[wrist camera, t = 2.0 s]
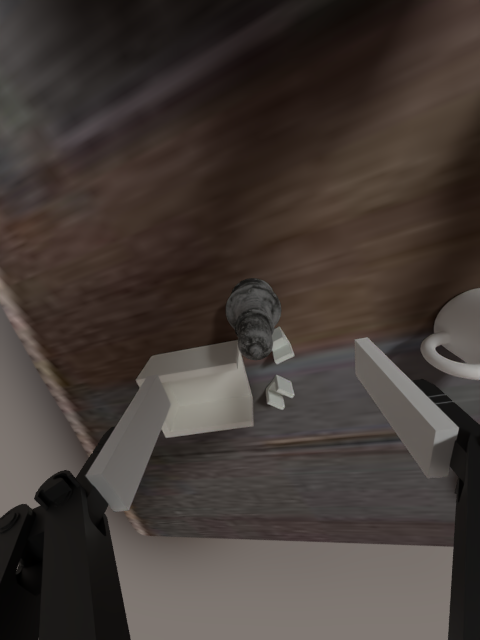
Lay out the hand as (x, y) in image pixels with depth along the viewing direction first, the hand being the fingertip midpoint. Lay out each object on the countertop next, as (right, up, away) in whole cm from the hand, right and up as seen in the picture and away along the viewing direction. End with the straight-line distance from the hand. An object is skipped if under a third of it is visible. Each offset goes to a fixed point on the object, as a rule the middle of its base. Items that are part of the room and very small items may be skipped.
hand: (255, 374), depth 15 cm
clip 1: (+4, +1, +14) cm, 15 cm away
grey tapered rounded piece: (+1, +6, +12) cm, 14 cm away
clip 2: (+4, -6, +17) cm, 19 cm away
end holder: (-6, -5, +17) cm, 19 cm away
